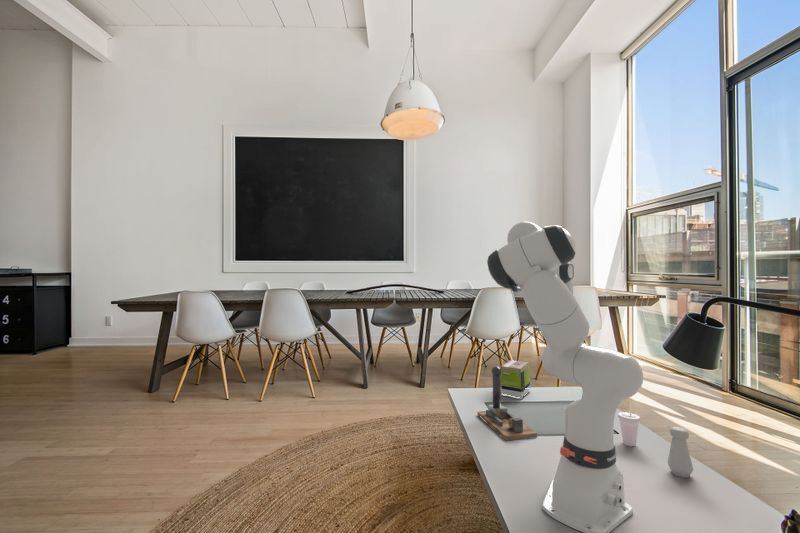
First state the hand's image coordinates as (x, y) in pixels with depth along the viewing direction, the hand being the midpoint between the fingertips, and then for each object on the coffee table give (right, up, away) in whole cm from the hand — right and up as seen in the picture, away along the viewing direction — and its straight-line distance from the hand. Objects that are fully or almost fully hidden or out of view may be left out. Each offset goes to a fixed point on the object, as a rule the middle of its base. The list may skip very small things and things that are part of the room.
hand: (560, 330), depth 131 cm
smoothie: (+18, -37, -11) cm, 43 cm away
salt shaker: (+21, -36, -30) cm, 51 cm away
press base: (-20, -37, +4) cm, 42 cm away
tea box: (-3, -39, +41) cm, 56 cm away
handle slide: (-21, -36, +9) cm, 42 cm away
